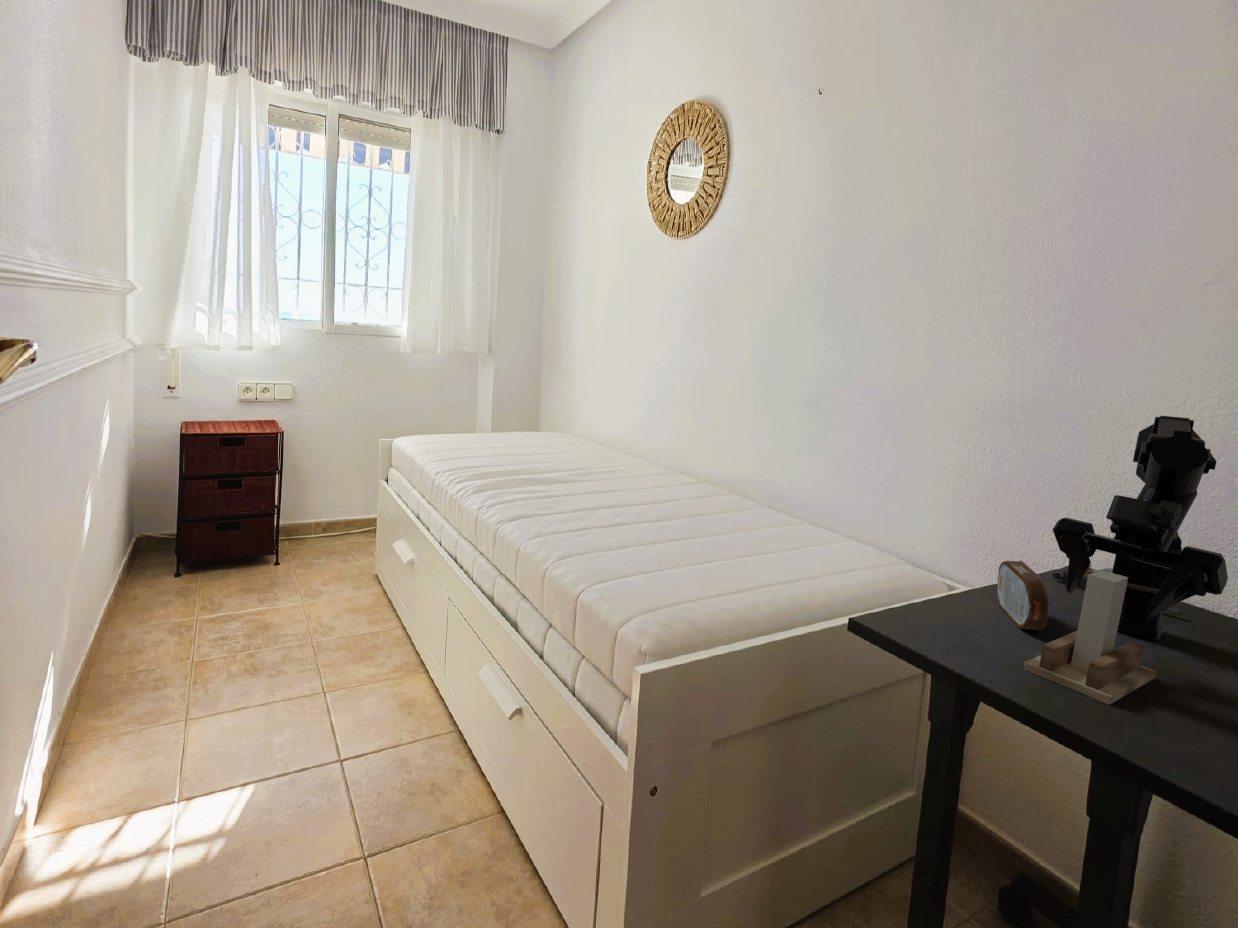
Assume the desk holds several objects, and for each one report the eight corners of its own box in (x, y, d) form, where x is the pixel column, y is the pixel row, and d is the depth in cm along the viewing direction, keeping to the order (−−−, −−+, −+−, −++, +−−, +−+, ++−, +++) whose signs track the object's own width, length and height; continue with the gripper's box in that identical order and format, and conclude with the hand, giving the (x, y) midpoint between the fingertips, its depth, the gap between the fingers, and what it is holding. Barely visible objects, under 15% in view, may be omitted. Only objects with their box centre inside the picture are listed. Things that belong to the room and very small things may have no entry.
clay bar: (1084, 658, 93) (1101, 570, 91) (1109, 667, 91) (1128, 577, 88) (1070, 665, 91) (1088, 574, 88) (1096, 674, 88) (1115, 582, 86)
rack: (1071, 647, 99) (1076, 621, 98) (1154, 677, 91) (1160, 649, 90) (1023, 669, 91) (1028, 640, 90) (1109, 704, 83) (1115, 673, 82)
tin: (1045, 640, 101) (1055, 585, 99) (1022, 637, 102) (1031, 583, 100) (1010, 603, 116) (1018, 554, 114) (990, 600, 116) (998, 552, 115)
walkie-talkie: (1045, 583, 128) (1178, 623, 112) (1049, 561, 127) (1184, 597, 111) (1065, 576, 133) (1195, 613, 117) (1069, 554, 132) (1200, 588, 116)
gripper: (1071, 461, 97) (1018, 546, 93) (1241, 490, 82) (1186, 593, 78) (1086, 509, 103) (1037, 591, 99) (1247, 545, 88) (1197, 643, 84)
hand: (1106, 603), depth 90 cm, fingers open, 9 cm apart
